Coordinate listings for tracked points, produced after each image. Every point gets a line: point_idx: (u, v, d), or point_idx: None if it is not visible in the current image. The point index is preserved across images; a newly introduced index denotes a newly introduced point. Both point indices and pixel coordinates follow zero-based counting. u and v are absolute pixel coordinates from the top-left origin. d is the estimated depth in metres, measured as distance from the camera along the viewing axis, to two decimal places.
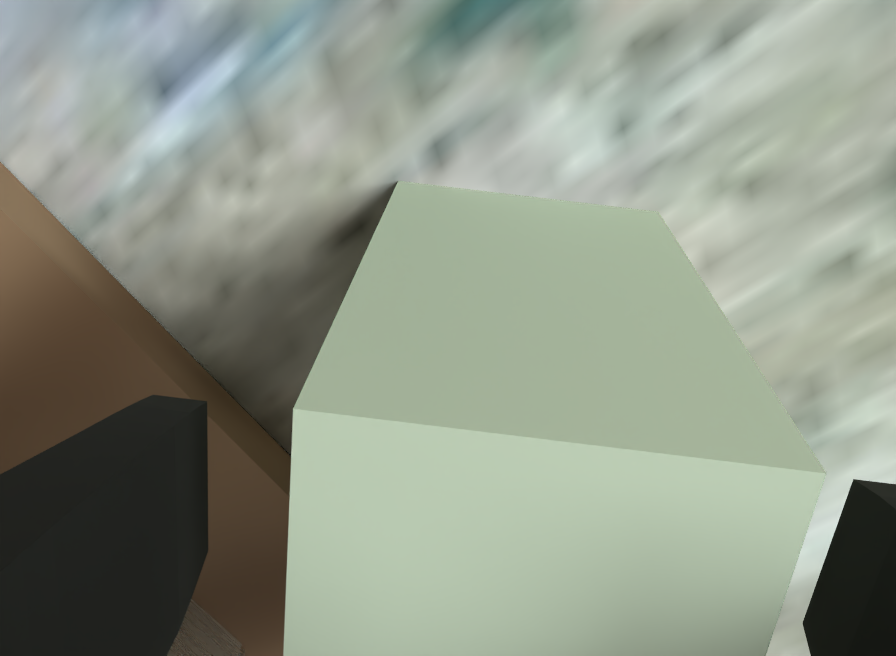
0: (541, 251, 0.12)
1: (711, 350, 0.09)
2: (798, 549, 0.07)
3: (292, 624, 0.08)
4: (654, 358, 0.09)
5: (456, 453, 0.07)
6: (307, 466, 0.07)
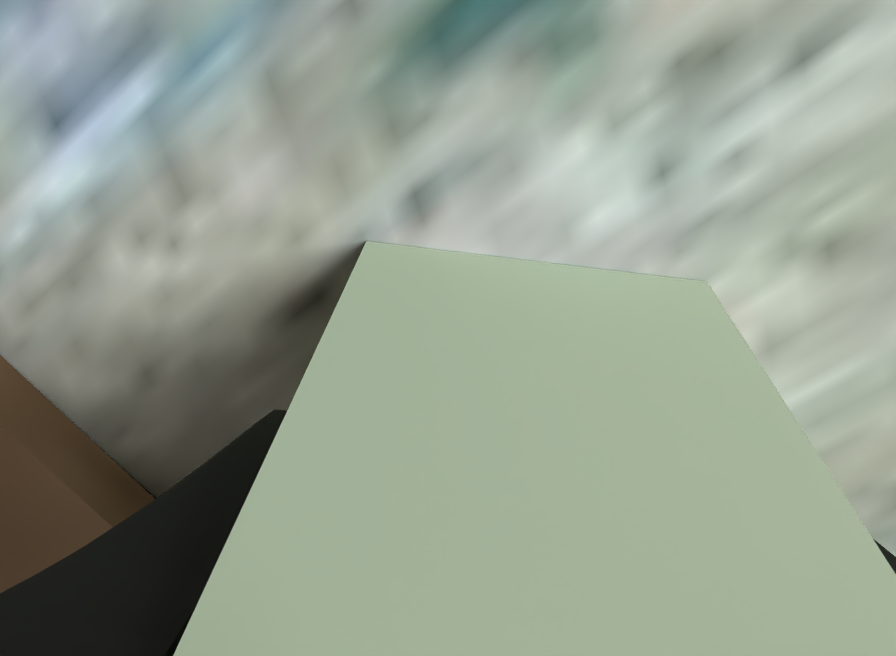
0: (557, 361, 0.08)
1: (836, 570, 0.06)
2: None
3: None
4: (752, 597, 0.05)
5: None
6: None
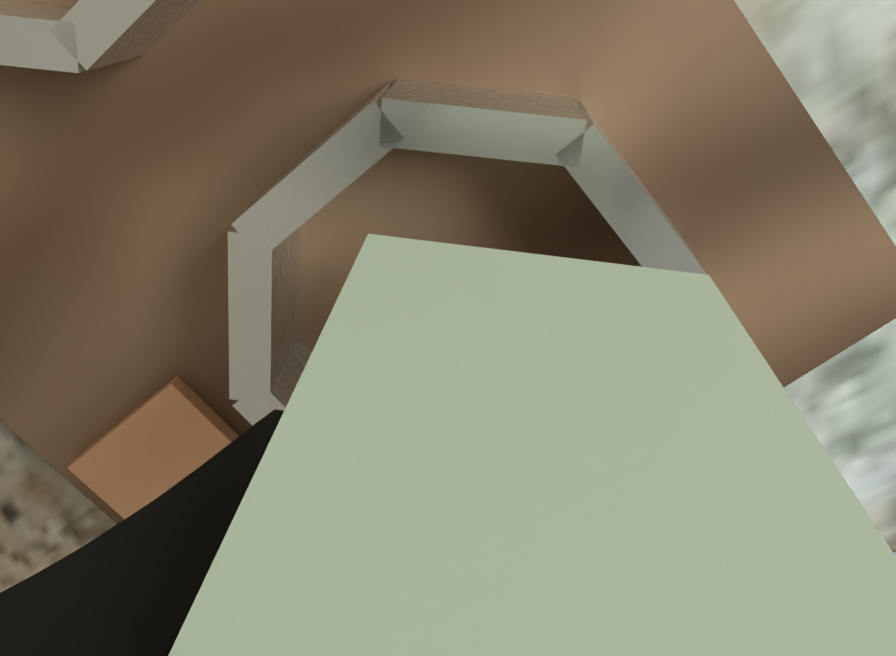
0: (559, 351, 0.08)
1: (839, 557, 0.06)
2: None
3: None
4: (754, 583, 0.05)
5: None
6: None
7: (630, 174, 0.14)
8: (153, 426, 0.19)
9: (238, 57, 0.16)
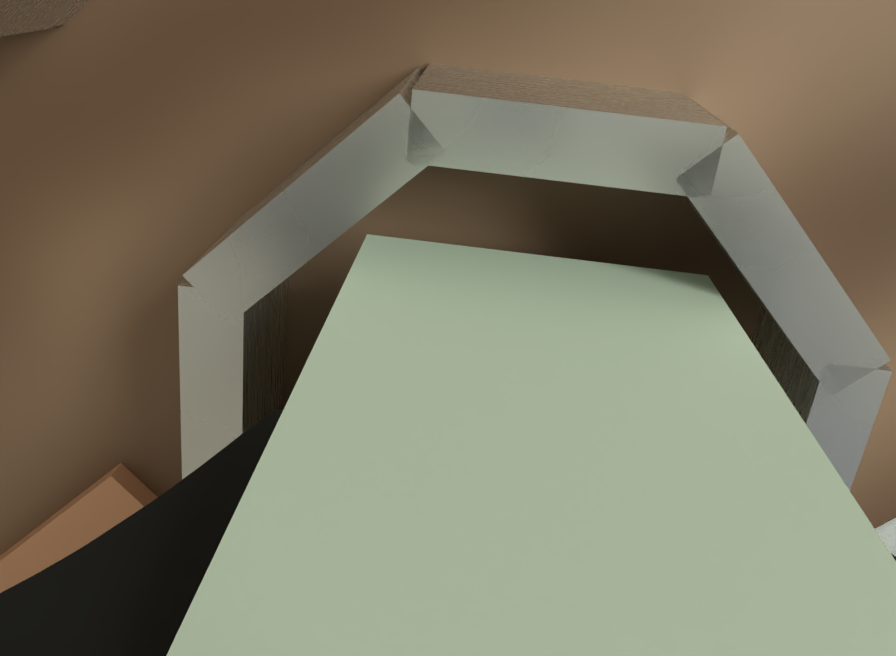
0: (559, 352, 0.08)
1: (836, 557, 0.06)
2: None
3: None
4: (753, 585, 0.05)
5: None
6: None
7: (787, 210, 0.09)
8: (88, 530, 0.14)
9: (200, 29, 0.11)
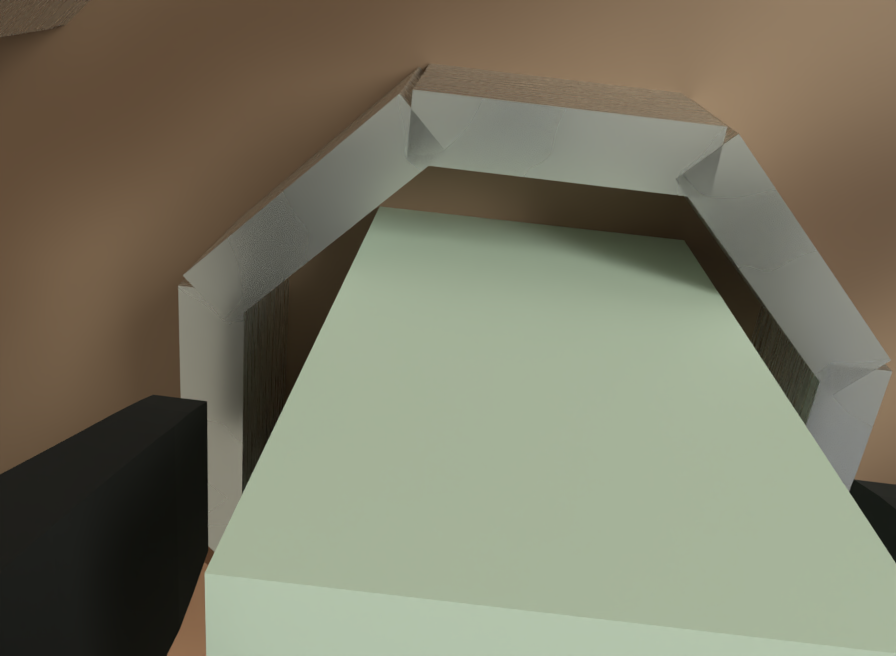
0: (548, 298, 0.10)
1: (771, 444, 0.07)
2: None
3: None
4: (700, 459, 0.07)
5: (437, 631, 0.05)
6: (229, 645, 0.05)
7: (788, 210, 0.10)
8: None
9: (201, 30, 0.11)
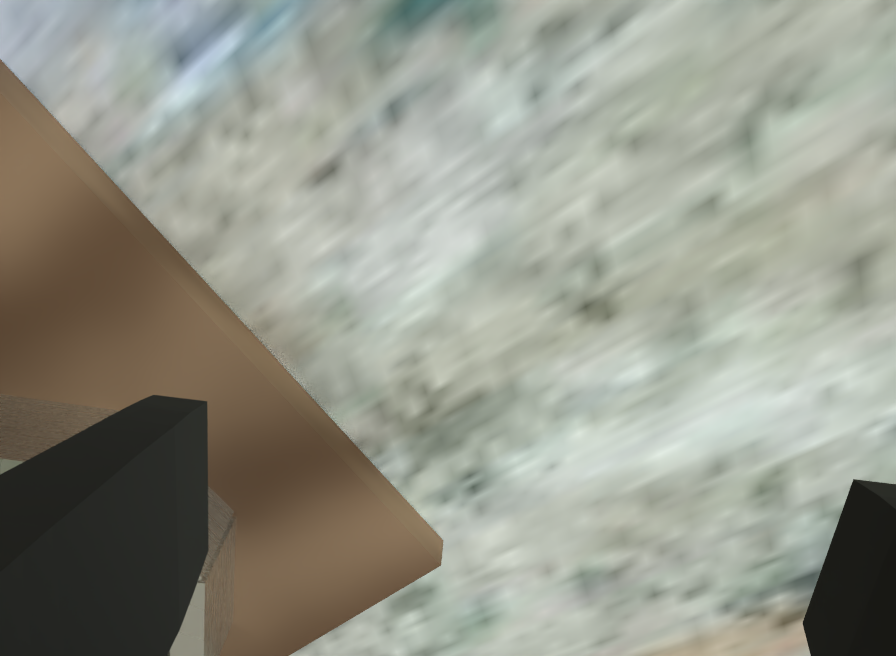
0: None
1: None
2: None
3: None
4: None
5: None
6: None
7: None
8: None
9: None
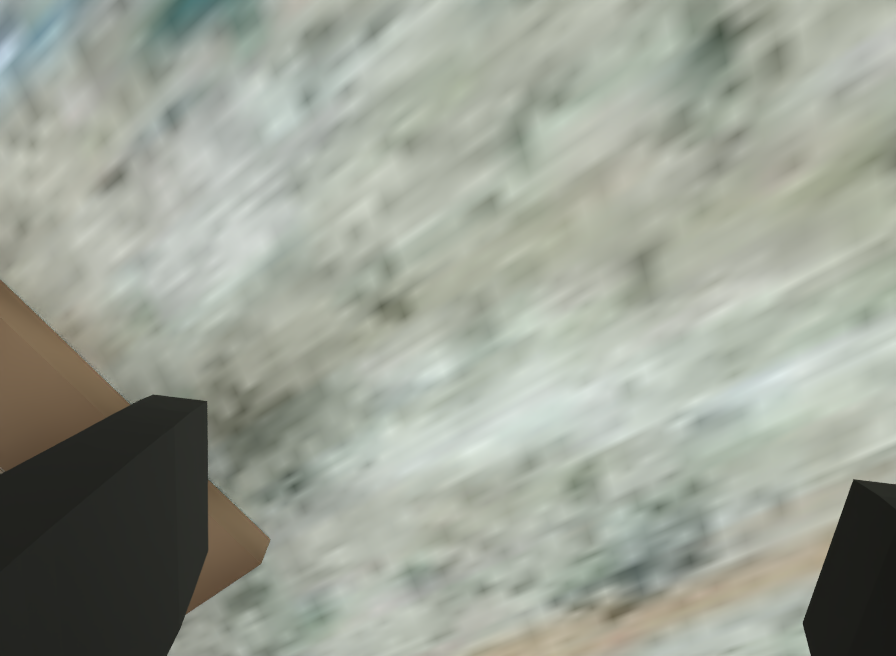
0: None
1: None
2: None
3: None
4: None
5: None
6: None
7: None
8: None
9: None
